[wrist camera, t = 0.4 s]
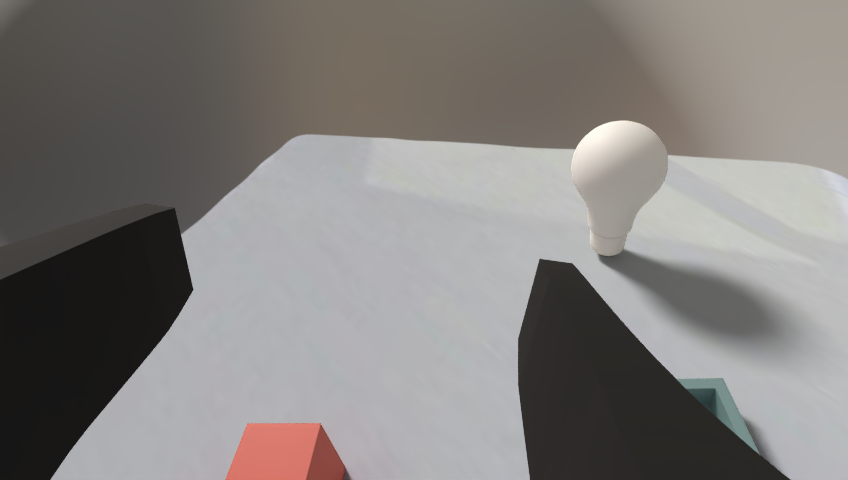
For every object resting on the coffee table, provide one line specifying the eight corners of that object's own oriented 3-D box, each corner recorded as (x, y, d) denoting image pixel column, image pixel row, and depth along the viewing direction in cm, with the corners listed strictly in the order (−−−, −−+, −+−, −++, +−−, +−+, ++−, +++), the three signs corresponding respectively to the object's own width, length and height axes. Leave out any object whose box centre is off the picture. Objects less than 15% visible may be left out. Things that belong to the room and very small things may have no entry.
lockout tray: (790, 569, 20) (807, 553, 19) (593, 560, 21) (598, 546, 20) (713, 398, 26) (722, 378, 25) (565, 399, 27) (567, 380, 26)
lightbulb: (607, 291, 33) (627, 159, 26) (549, 248, 38) (554, 126, 31) (665, 256, 35) (698, 124, 28) (604, 219, 40) (620, 97, 33)
